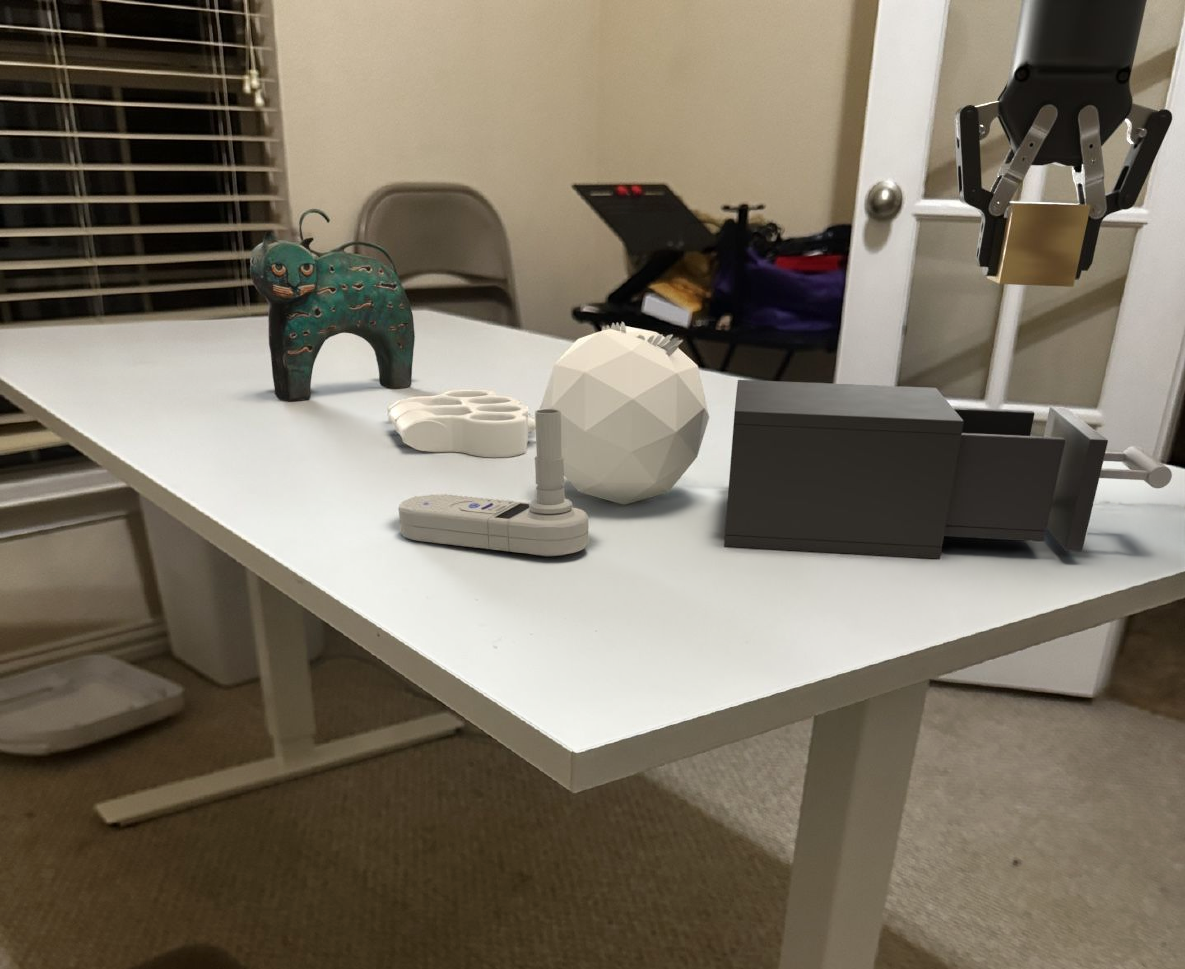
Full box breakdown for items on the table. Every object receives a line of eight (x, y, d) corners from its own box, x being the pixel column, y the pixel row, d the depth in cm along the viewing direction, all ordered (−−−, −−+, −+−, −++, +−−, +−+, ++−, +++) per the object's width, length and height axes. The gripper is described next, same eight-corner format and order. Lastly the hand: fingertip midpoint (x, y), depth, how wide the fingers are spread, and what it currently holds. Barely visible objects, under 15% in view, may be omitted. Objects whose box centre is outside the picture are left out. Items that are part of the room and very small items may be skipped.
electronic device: (414, 395, 84) (598, 407, 79) (425, 525, 89) (599, 544, 83) (374, 407, 80) (567, 420, 74) (388, 543, 84) (570, 564, 79)
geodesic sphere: (775, 424, 95) (688, 270, 93) (715, 456, 84) (614, 282, 81) (642, 512, 104) (559, 374, 102) (571, 552, 93) (476, 398, 90)
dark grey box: (917, 509, 95) (936, 387, 90) (940, 558, 83) (964, 420, 78) (728, 500, 96) (737, 379, 91) (724, 546, 84) (734, 410, 79)
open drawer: (1117, 510, 92) (1142, 410, 88) (1165, 556, 81) (1196, 444, 77) (863, 497, 94) (876, 399, 90) (877, 540, 83) (893, 430, 79)
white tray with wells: (384, 424, 121) (517, 419, 125) (409, 461, 106) (559, 455, 110) (382, 391, 120) (516, 387, 123) (407, 425, 104) (559, 419, 108)
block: (1057, 281, 82) (1073, 203, 79) (1073, 287, 77) (1091, 205, 75) (986, 278, 82) (1000, 201, 80) (999, 284, 78) (1013, 202, 76)
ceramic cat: (280, 404, 130) (259, 209, 120) (254, 396, 134) (231, 207, 124) (424, 388, 141) (415, 209, 132) (396, 381, 146) (385, 207, 136)
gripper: (980, -26, 69) (933, 278, 77) (1226, -25, 67) (1151, 285, 76) (961, -9, 75) (920, 270, 84) (1185, -7, 74) (1120, 277, 82)
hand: (1030, 276), depth 80 cm, fingers closed on block, 5 cm apart
